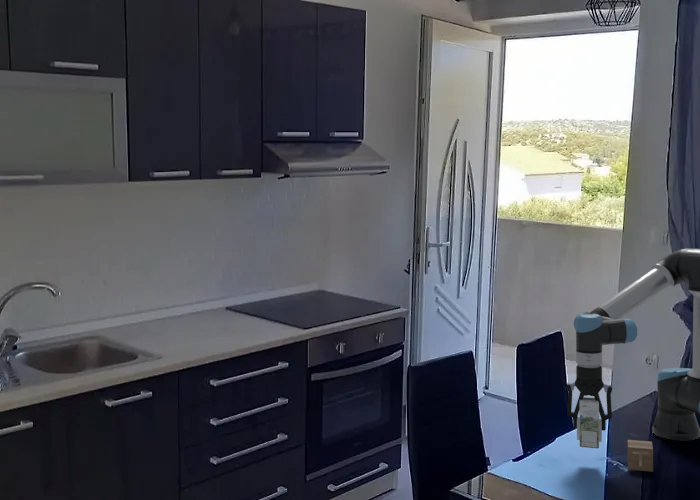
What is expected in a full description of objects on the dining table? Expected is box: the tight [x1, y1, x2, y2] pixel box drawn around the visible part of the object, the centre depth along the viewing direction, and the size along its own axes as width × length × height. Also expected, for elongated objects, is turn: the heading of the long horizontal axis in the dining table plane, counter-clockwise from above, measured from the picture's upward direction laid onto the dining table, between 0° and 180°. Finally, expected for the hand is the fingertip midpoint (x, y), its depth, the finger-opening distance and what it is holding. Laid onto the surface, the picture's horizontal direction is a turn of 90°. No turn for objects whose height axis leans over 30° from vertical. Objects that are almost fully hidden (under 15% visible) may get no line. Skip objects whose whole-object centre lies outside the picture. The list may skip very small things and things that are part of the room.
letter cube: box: [627, 439, 654, 473], centre depth 224 cm, size 7×7×7 cm
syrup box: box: [579, 396, 600, 449], centre depth 226 cm, size 6×6×14 cm
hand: (589, 439), depth 226 cm, fingers closed on syrup box, 6 cm apart
